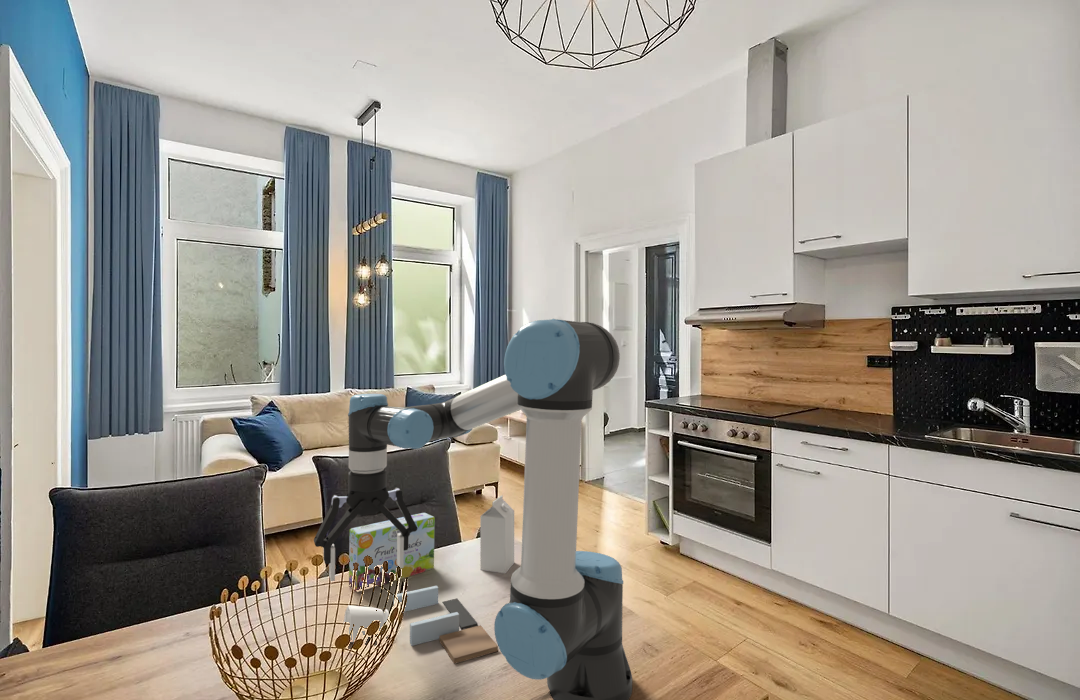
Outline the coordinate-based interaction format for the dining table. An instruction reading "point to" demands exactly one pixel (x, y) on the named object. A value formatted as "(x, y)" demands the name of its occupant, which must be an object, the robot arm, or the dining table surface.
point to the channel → (432, 626)
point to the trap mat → (460, 613)
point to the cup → (363, 617)
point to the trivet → (468, 644)
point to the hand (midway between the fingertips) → (367, 572)
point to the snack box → (391, 549)
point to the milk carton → (497, 537)
